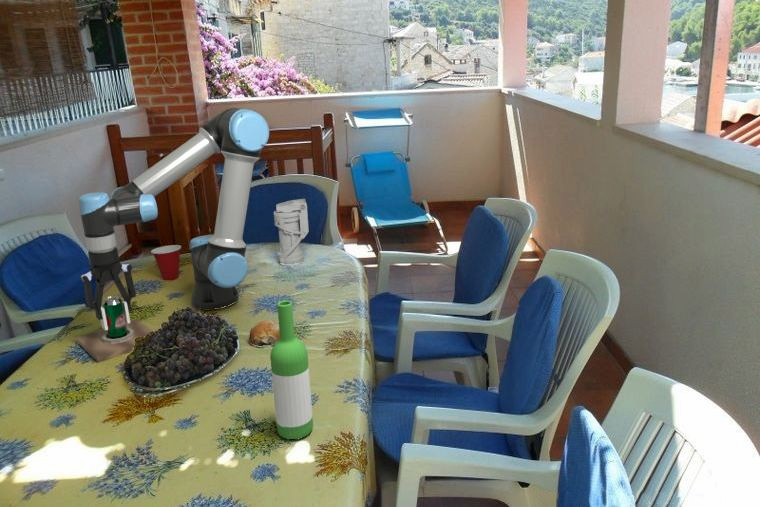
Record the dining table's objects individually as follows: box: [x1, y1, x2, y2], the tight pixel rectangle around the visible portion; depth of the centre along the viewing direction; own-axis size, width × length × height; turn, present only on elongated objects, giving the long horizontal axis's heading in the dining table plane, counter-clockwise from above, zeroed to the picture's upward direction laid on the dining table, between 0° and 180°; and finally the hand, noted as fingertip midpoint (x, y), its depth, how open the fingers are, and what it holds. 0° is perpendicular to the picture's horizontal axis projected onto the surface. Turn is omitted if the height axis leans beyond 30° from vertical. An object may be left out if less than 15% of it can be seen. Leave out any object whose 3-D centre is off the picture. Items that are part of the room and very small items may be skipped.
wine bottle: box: [269, 300, 314, 440], centre depth 125 cm, size 8×8×30 cm
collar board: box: [75, 319, 154, 363], centre depth 175 cm, size 18×18×2 cm
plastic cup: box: [150, 244, 182, 281], centre depth 225 cm, size 11×11×12 cm
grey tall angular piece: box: [273, 198, 309, 264], centre depth 237 cm, size 13×10×25 cm
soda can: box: [102, 295, 128, 339], centre depth 173 cm, size 5×5×12 cm
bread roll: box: [249, 319, 280, 346], centre depth 172 cm, size 10×10×8 cm
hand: (116, 325), depth 173 cm, fingers open, 6 cm apart
